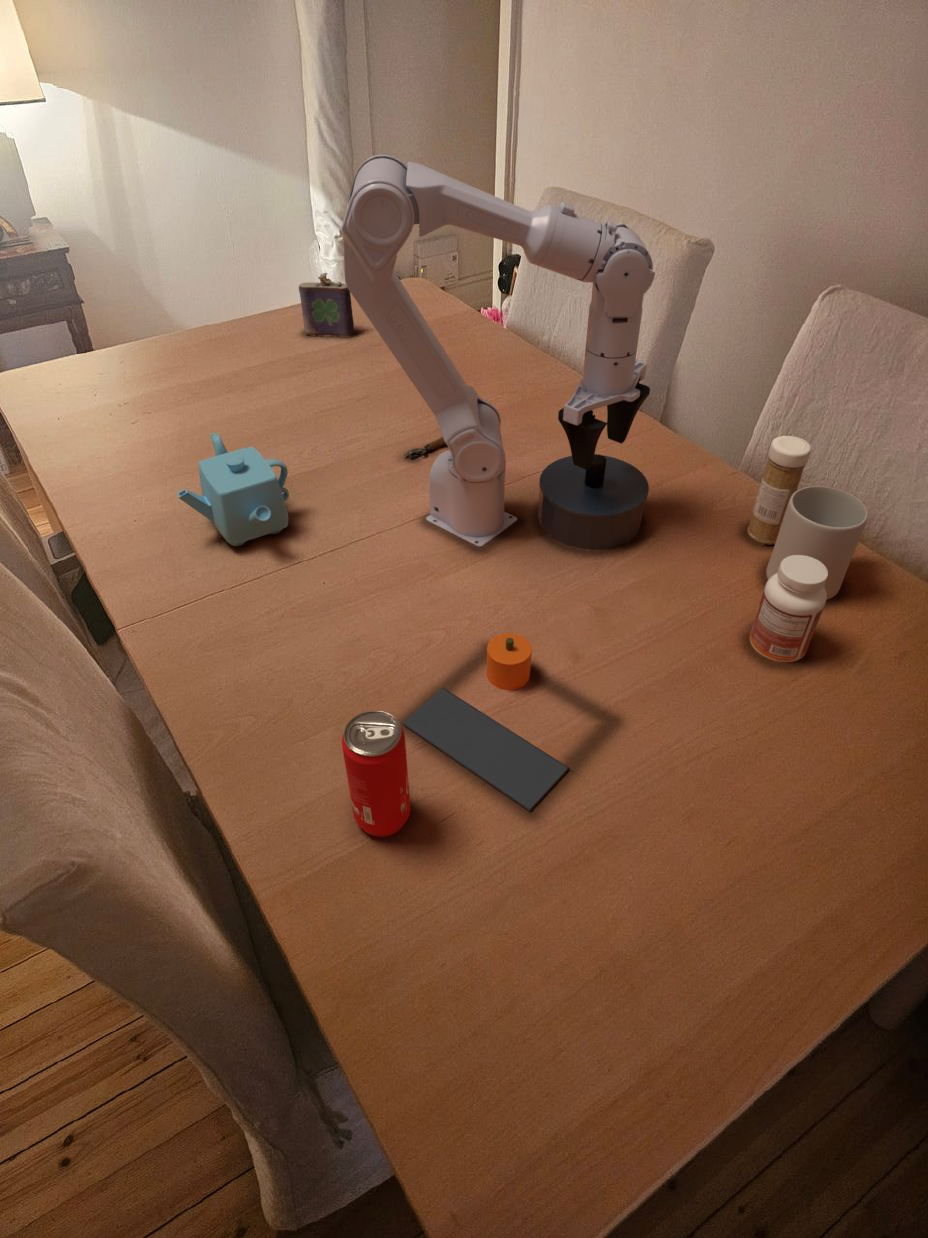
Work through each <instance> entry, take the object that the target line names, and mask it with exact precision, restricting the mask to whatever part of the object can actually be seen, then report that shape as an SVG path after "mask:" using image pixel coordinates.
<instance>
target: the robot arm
mask: <svg viewBox="0 0 928 1238" xmlns="http://www.w3.org/2000/svg"><path fill="white" fill-rule="evenodd" d="M345 210H346V211H345V214H344V218H343V220H342V224H341V233H342V246H343V270H344V271H343V273H344V284H346V285H347V287H348V289H349V291H350V295H352V297H353V298H354V300H355V301H356V303H357V304H358V306H359V307H360V309H361V310H362V311H363V313H364V315H365V316H366V317H367V319H368V320H369V321H370V323H371V325H372V326H373V327H374V329H375V331H376V332H377V333H378V335H379V336H380V338H381V339H382V341H383V342H384V344H385V345H386V346H387V348H388V350H389V351H390V352H391V353H392V355H393V356H394V358H395V360H396V361H397V363H398V364H399V365H400V367H401V369H402V370H403V371H404V373H405V374H406V375H407V377H408V379H409V380H410V381H411V383H412V384H413V386H414V387H415V389H416V390H417V392H418V394H420V396H421V398H422V399H423V400H424V402H425V404H426V405H427V406H428V408H429V409H430V410H431V412H432V414H433V415H434V417H435V419H436V422H437V425H438V427H439V430H440V433H441V436H442V437H443V439H444V441H445V443H446V444H445V445H446V446H447V447H448V450H445V451H443V452H442V453H440V454H439V455H438V456H437V457H436V458H435V460H434V462H433V463H432V466H431V468H430V471H429V475H428V495H429V496H428V497H429V498H428V499H429V515H427V516H426V517H425V520H426V522H429V523H430V524H433V525H434V526H437V527H439V528H440V529H442V530H445V531H446V532H448V533H450V534H452V535H454V536H456V537H458V538H460V539H462V540H464V541H465V542H468V543H470V544H472V545H474V546H476V547H478V548H481V547H484V546H485V545H486V544H488V543H489V542H491V541H492V540H493V539H495V538H496V537H497V536H498V535H500V534H501V533H502V532H503V531H505V530H507V529H508V528H509V527H511V526H512V525H514V524H515V523H516V522H517V521H518V517H517V516H514V515H513V514H510V513H509V512H506V511H505V494H506V493H505V492H506V470H507V469H506V465H507V461H506V452H505V448H504V445H503V439H502V430H501V416H500V412H499V411H498V409H497V408H496V407H495V406H494V405H493V404H492V403H491V402H490V401H489V402H488V401H487V400H484V398H482V397H481V396H480V395H479V394H478V392H477V391H476V389H475V388H474V387H473V386H471V385H469V384H467V383H466V381H465V379H464V378H463V377H462V375H461V373H460V372H459V370H458V369H457V367H456V365H455V364H454V363H453V361H452V359H451V358H450V356H449V355H448V353H447V351H446V350H445V348H444V347H443V345H442V344H441V342H440V341H439V339H438V337H437V336H436V335H435V333H434V331H433V330H432V328H431V326H430V325H429V323H428V322H427V320H426V319H425V317H424V315H423V314H422V312H421V311H420V309H419V308H418V306H417V304H416V303H415V301H414V300H413V298H412V297H411V295H410V293H409V292H408V291H407V289H406V288H405V286H404V284H403V282H402V281H401V279H400V278H399V275H397V273H396V272H395V267H396V262H397V259H398V258H397V257H398V253H399V252H400V250H401V249H402V247H403V246H404V245H405V244H406V242H407V240H408V238H409V237H410V235H411V234H412V231H413V229H414V225H418V236H419V237H420V238H421V237H424V236H427V235H429V234H431V233H432V232H434V231H436V230H438V229H440V228H443V227H445V226H453V227H456V228H460V229H463V230H467V231H470V232H473V233H476V234H480V235H483V236H487V237H489V238H493V239H496V240H499V241H503V242H507V243H510V244H512V245H516V246H520V247H521V248H522V250H523V253H524V255H525V257H526V260H527V261H528V263H530V264H532V265H535V266H537V267H540V268H543V269H546V270H548V271H551V272H554V273H557V274H560V275H563V276H566V277H568V278H571V279H574V280H577V281H580V282H582V283H592V287H591V288H592V289H591V298H590V303H589V307H588V316H587V317H588V318H587V329H586V340H585V348H584V349H585V350H584V360H583V371H582V378H581V380H580V381H579V383H578V385H577V387H576V389H575V391H574V393H573V394H572V396H571V398H570V399H569V400H568V401H567V402H566V403H565V404H564V405H563V408H561V409H560V410H558V415H557V420H558V422H559V424H560V425H561V427H562V429H563V430H564V433H565V435H566V437H567V440H568V445H569V449H570V451H571V452H570V453H571V456H572V459H573V463H574V465H576V466H578V467H581V468H583V469H586V470H588V469H589V468H590V467H591V465H592V462H593V459H594V454H596V449H597V445H598V443H599V440H600V437H601V435H602V433H603V431H604V429H605V428H606V431H607V432H606V434H607V439H608V440H610V441H613V442H615V443H619V444H621V445H622V444H623V443H625V441H626V440H627V437H628V435H629V432H630V429H631V427H632V425H633V422H634V420H635V417H636V415H637V413H638V412H639V410H640V408H641V407H642V405H643V403H644V402H645V400H646V399H647V398H648V397H649V396H650V394H651V393H650V392H651V388H650V387H649V386H648V385H646V384H643V383H641V382H642V381H644V380H645V379H646V374H647V367H648V364H647V363H646V362H643V361H639V360H637V353H638V346H639V339H640V331H641V323H642V316H643V302H644V295H645V294H646V293H647V291H649V289H650V288H651V286H652V284H653V282H654V280H655V276H656V272H654V271H653V270H654V263H653V260H652V257H651V254H650V252H649V250H648V249H647V247H646V246H645V245H646V244H644V241H643V240H642V239H641V237H640V235H639V234H638V233H637V232H635V230H633V229H632V228H630V227H628V226H627V225H626V224H625V223H615V222H613V221H610V220H606V221H605V223H602V222H599V221H597V220H593V219H591V218H587V217H585V216H582V215H580V214H577V213H575V208H574V206H573V204H570V203H567V202H565V201H561V202H560V204H559V206H556V205H553V204H551V203H548V204H545V205H542V206H540V207H538V208H535V209H533V210H528V209H525V208H523V207H521V206H519V205H516V204H514V203H511V202H510V201H507V200H505V199H502V198H500V197H498V196H495V195H494V194H491V193H488V192H486V191H483V190H481V189H479V188H477V187H474V186H472V185H470V184H467V183H465V182H463V181H460V180H459V179H456V178H453V177H451V176H449V175H446V174H445V173H442V172H439V171H437V170H435V169H432V168H430V167H428V166H426V165H423V164H421V163H417V162H413V161H407V165H406V164H405V162H403V161H402V160H401V159H399V158H398V157H395V156H393V155H390V154H377V155H373V156H370V157H368V158H367V159H365V160H364V161H363V162H362V163H361V164H360V165H359V166H358V168H357V170H356V172H355V175H354V177H353V181H352V183H351V187H350V191H349V195H348V197H347V202H346V209H345ZM604 407H606V411H607V412H606V415H607V416H606V417H607V418H606V419H607V420H606V421H607V422H606V421H603V420H601V419H598V418H596V414H594V410H596V409H600V408H604Z"/></svg>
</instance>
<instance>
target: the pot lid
mask: <svg viewBox="0 0 928 1238" xmlns="http://www.w3.org/2000/svg"><path fill="white" fill-rule="evenodd" d="M538 486H539V491H540V490H541V493H542V495H543V496H544V497H545V499H546V500H547V501H548V502H550V503H551V504H552V505H553V506H555V507H557V508H558V509H560V510H562V511H565V512H567V513H570V514H573V515H577V516H582V517H588V518H611V517H617V516H622V515H625V514H628V513H630V512H632V511H634V510H636V509H638V508H639V507H640V506H641V505H642V504H643V503H644V504H645V502H646V501H647V499H648V497H649V491H650V485H649V481H648V479H647V478H646V476H645V475H644V474H643V472H642V471H641V470H639V468H637V467H636V466H635V465H632V464H631V463H629V462H627V461H625V460H623V459H619V458H616V457H613V456H608V455H605V454H604V455H603V454H598V453H597V454H596V453H595V454H594V459H593V462H592V465H591V467H590V468H589V469H588V470H586V469H583V468H581V467H578V466H576V465H574V463H573V459H572V455H569V456H565V457H562V458H559V459H557V460H554V461H553V462H551V463H550V464H548V465H547V466H546V467H544V469H543V470H542V472H541V473H540V476H539V482H538Z"/></svg>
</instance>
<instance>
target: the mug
mask: <svg viewBox="0 0 928 1238" xmlns="http://www.w3.org/2000/svg"><path fill="white" fill-rule="evenodd" d="M868 511H869V510H868V509H867V507H866V504H865V502H863V501H862V500H861V499H859V498H858V497H856V496H855V495H853V494H851V493H849V492H847V491H845V490H842V489H839V488H836V487H831V486H823V485H812V486H806V487H802V488H800V489H799V488H798V489H797V491H796V492H795V493H794V494H793V495H792V496H791V498H790V500H789V503H788V506H787V509H786V512H785V515H784V518H783V521H782V524H781V527H780V531H779V534H778V537H777V540H776V543H775V544H774V546H773V549H772V552H771V555H770V558H769V560H768V563H767V566H766V570H765V573H766V574H765V575H766V578H767V581H768V580H769V579H770V578H771V577H772V576H773V575H774V574H776V573H778V570H779V567H780V564H781V562H782V560H783V559H785V558H786V557H788V556H792V555H804V556H809V557H812V558H814V559H817V560H818V561H820V562H821V563H823V564H824V565H825V567H826V568H827V571H828V577H827V580H826V583H825V586H824V588H825V590H826V594H827V599H826V601H827V600H830V599H833V598H834V597H835V596H837V594H838V593H839V591H840V589H841V587H842V584H843V581H844V578H845V576H846V573H847V571H848V568H849V566H850V564H851V561H852V558H853V556H854V554H855V552H856V549H857V546H858V545H859V541H860V540H861V537H862V534H863V532H864V529H865V527H866V524H867V522H868V518H869V512H868Z"/></svg>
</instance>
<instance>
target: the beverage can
mask: <svg viewBox="0 0 928 1238" xmlns="http://www.w3.org/2000/svg"><path fill="white" fill-rule="evenodd" d="M406 746H407V745H406V734H405V731H404V729H403V727H402V726H401V724H400V722H399V720H398V719H397V718H396V717H395V716H393V715H392V713H391V714H390V713H389V712H387V711H382V710H368V711H363V712H361V713H359V714H357V715H355V716H354V717H352V718H351V719H350V720H349V721H348V722H347V724H346V726H345V728H344V730H343V734H342V736H341V748H342V753H343V760H344V761H343V762H344V766H345V771H346V772H345V773H346V779H347V784H348V791H349V797H350V804H351V809H352V810H351V811H352V815H353V819H354V821H355V823H356V825H358V827H359V828H361V829H362V830H363V831H364V833H366V834H368V835H370V836H372V837H374V838H375V837H377V838H386V837H390V836H392V835H395V834H396V833H398V832H399V831H400V830H401V829H403V827H404V826H405V824H406V822H407V821H408V819H409V817H410V813H411V797H410V782H409V772H408V771H409V770H408V759H407V747H406Z"/></svg>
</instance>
